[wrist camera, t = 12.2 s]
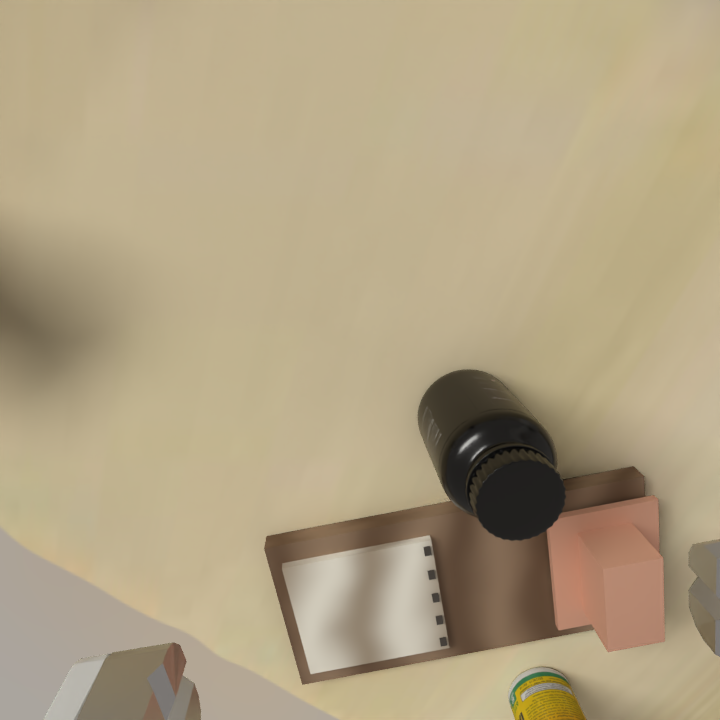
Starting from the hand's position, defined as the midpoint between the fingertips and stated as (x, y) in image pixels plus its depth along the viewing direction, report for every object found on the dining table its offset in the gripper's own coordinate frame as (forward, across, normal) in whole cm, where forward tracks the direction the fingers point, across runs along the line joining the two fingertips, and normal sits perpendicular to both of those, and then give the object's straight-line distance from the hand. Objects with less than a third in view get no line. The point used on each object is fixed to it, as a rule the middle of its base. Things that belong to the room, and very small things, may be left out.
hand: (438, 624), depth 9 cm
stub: (+27, -15, +23) cm, 39 cm away
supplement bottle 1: (+29, -6, +10) cm, 32 cm away
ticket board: (+29, -4, +23) cm, 38 cm away
